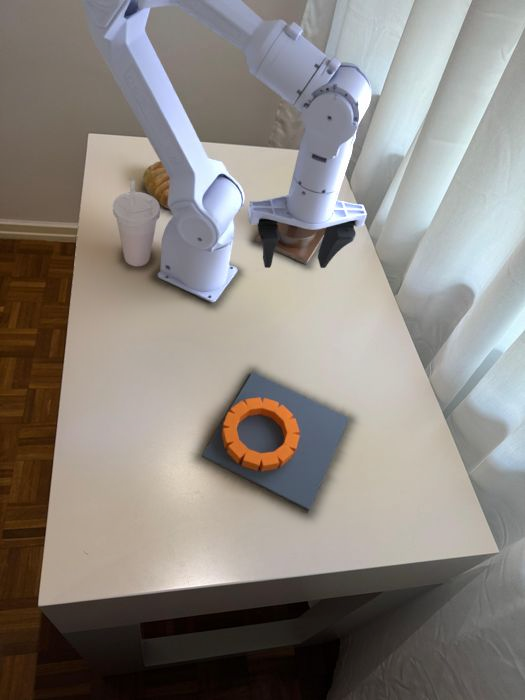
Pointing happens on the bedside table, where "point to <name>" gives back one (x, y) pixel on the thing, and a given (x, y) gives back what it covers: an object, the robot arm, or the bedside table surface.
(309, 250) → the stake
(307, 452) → the mat
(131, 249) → the smoothie
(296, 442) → the ring
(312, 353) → the bedside table surface
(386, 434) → the bedside table surface
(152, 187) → the pastry
